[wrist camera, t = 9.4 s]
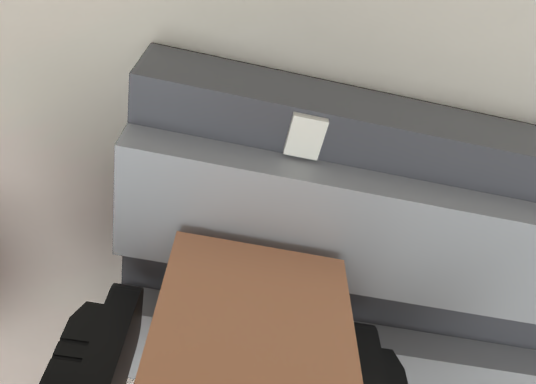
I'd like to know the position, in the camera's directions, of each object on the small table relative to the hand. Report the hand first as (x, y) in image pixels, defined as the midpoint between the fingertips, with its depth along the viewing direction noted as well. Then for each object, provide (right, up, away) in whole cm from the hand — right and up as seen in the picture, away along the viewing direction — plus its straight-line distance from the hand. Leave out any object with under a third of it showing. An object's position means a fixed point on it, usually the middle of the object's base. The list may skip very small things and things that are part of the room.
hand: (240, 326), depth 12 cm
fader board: (+6, +1, +4) cm, 7 cm away
